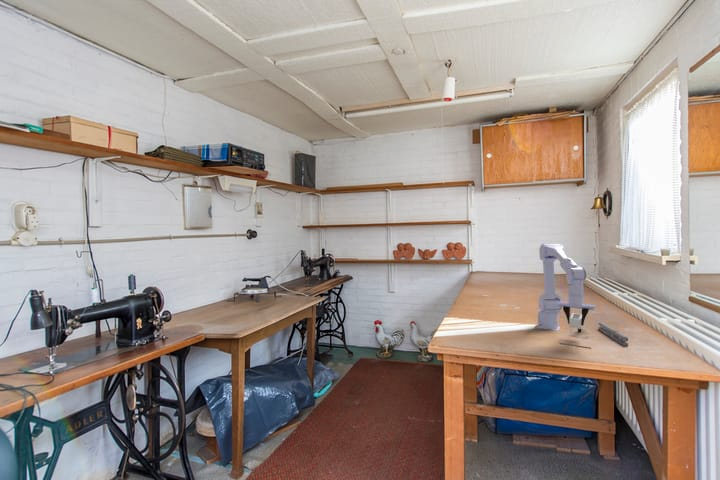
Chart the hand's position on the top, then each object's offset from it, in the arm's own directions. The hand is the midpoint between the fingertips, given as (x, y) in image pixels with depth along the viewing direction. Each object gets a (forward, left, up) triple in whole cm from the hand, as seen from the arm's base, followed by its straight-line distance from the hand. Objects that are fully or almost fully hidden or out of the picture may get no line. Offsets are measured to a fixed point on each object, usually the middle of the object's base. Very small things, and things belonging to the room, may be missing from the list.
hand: (575, 324), depth 162 cm
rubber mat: (0, +2, -9) cm, 9 cm away
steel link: (0, +3, -1) cm, 3 cm away
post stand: (0, +17, -9) cm, 19 cm away
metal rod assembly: (+13, +18, -10) cm, 25 cm away
